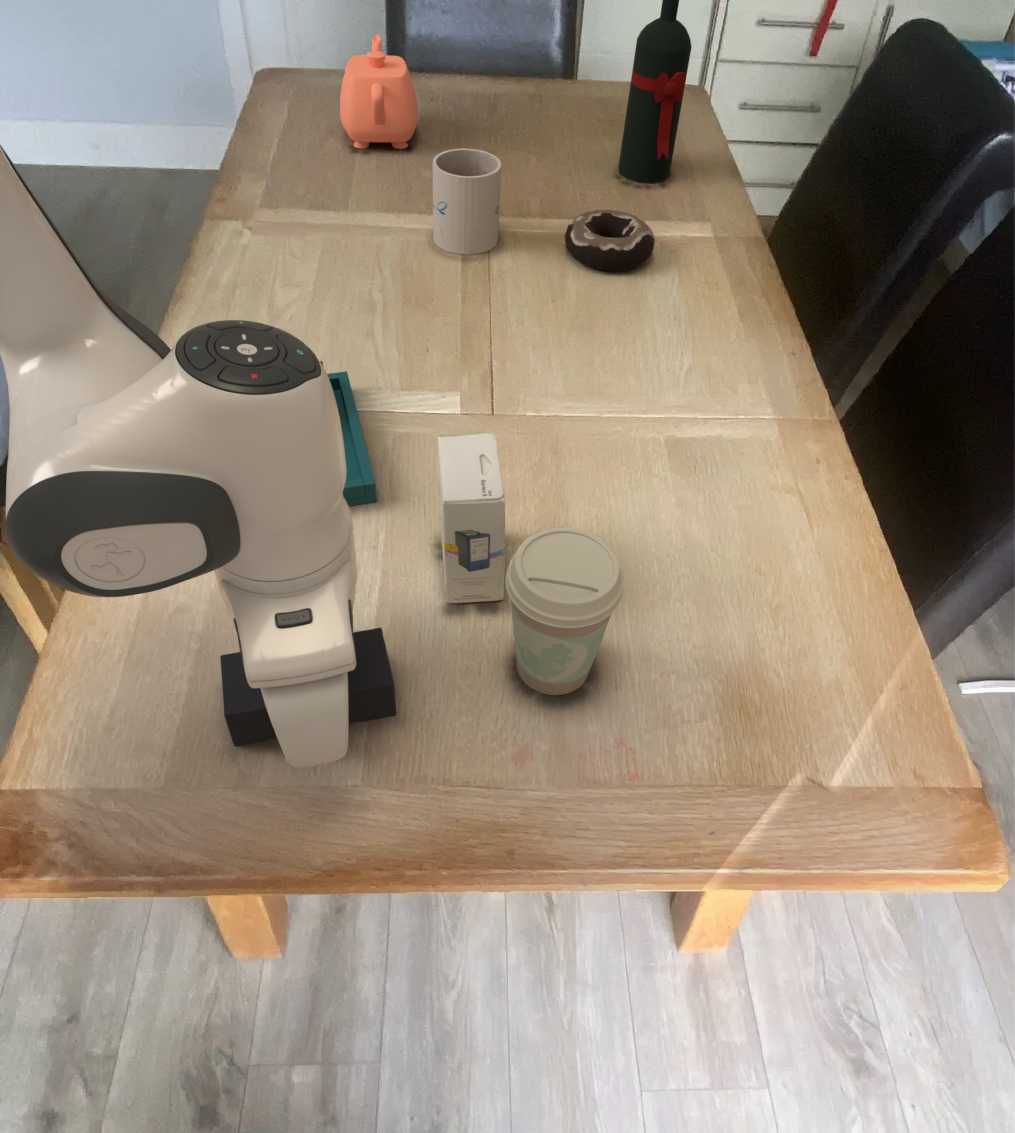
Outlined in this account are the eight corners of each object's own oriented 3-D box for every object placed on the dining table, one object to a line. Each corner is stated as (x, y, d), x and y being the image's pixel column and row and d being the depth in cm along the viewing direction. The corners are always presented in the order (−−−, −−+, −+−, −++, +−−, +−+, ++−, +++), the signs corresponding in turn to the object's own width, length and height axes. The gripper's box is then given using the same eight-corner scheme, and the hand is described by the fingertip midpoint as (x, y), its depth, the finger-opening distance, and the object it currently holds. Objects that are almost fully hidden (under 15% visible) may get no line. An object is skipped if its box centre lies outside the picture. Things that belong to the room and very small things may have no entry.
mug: (496, 256, 117) (500, 179, 110) (430, 252, 117) (429, 175, 110) (499, 212, 126) (503, 139, 118) (437, 209, 126) (437, 135, 118)
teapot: (421, 162, 136) (419, 76, 127) (341, 162, 134) (333, 75, 125) (415, 111, 149) (414, 29, 140) (343, 110, 148) (336, 28, 139)
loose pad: (234, 746, 66) (224, 715, 63) (229, 686, 70) (219, 654, 67) (396, 715, 69) (394, 684, 66) (384, 658, 72) (381, 626, 69)
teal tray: (188, 529, 81) (182, 510, 79) (182, 408, 93) (177, 389, 91) (376, 501, 85) (375, 483, 83) (348, 389, 96) (347, 371, 95)
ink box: (503, 602, 77) (511, 500, 68) (442, 605, 76) (442, 502, 68) (493, 531, 83) (499, 429, 74) (437, 534, 82) (436, 430, 73)
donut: (621, 286, 114) (626, 257, 111) (545, 255, 118) (548, 226, 115) (668, 253, 120) (673, 224, 117) (594, 224, 125) (598, 196, 122)
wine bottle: (632, 191, 132) (669, -50, 111) (610, 162, 139) (641, -71, 117) (682, 188, 134) (728, -51, 112) (658, 159, 141) (697, -71, 119)
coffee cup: (477, 666, 72) (481, 563, 63) (547, 608, 77) (560, 505, 68) (558, 730, 68) (574, 630, 60) (627, 666, 73) (651, 564, 64)
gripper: (225, 463, 64) (255, 593, 74) (247, 697, 51) (280, 816, 61) (316, 452, 65) (333, 580, 75) (359, 677, 52) (373, 796, 62)
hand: (309, 687), depth 68 cm, fingers closed on loose pad, 5 cm apart
